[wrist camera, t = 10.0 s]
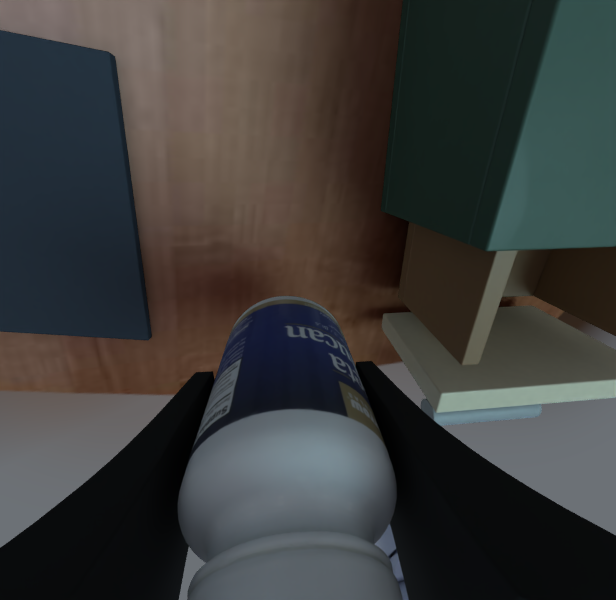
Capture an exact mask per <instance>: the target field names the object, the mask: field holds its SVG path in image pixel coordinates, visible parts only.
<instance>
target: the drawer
mask: <svg viewBox="0 0 616 600" xmlns="http://www.w3.org/2000/svg"><path fill="white" fill-rule="evenodd" d="M533 295H534V296H535V297H537V298H539V299H541V300H543V301H545V302H547V303H549V304H551V305H553V306H555V307H557V308H559V309H561V310H563V311H565V312H568V313H570V314H572V315H574V316H576V317H578V318H580V319H582V320H584V321H586V322H588V323H590V324H592V325H594V326H596V327H598V328H600V329H602V330H604V331H606V332H608V333H610V334H612V335H614V336H616V247H595V248H568V249H540V250H513V251H484V250H481V249H478V248H476V247H473V246H471V245H468V244H466V243H463V242H461V241H458V240H455V239H453V238H450V237H448V236H445V235H442V234H440V233H437V232H435V231H432V230H430V229H427V228H424V227H422V226H419V225H417V224H414V223H411V222H409V227H408V233H407V240H406V247H405V253H404V260H403V266H402V273H401V279H400V286H399V292H398V298H399V299H400V300H401V301H402V302H403V303H404V304H405V305H406V306H407V307H408V309H409V310H410V311H411V312H402V313H384V314H383V321H382V329H383V331H384V333H385V334H386V336H387V337H388V339H389V340H390V342H391V343H392V345H393V347H394V348H395V350H396V351H397V353H398V354H399V356H400V357H401V359H402V361H403V362H404V364H405V365H406V367H407V368H408V370H409V371H410V373H411V374H412V376H413V378H414V379H415V381H416V382H417V384H418V386H419V387H420V389H421V390H422V392H423V393H424V395H425V396H426V398H427V399H423V400H422V402H421V410H422V411H424V412H425V413H426V414H427V415H428V416H429V417H431V418H432V419H433V420H434V421H435V422H436V423H438V424H439V425H440V426H441V425H453V424H464V423H475V422H487V421H498V420H508V419H520V418H531V417H537V416H539V415H540V413H541V404H546V403H557V402H568V401H581V400H593V399H604V398H616V350H615V349H613V348H611V347H609V346H607V345H605V344H604V343H602V342H600V341H598V340H596V339H594V338H592V337H590V336H588V335H586V334H585V333H582V332H581V331H579V330H577V329H575V328H573V327H572V326H570V325H568V324H566V323H564V322H562V321H560V320H558V319H557V318H555V317H553V316H551V315H549V314H547V313H545V312H543V311H541V310H540V309H538V308H536V307H534V306H513V307H499V304H500V301H501V298H502V297H514V296H533Z"/></svg>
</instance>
